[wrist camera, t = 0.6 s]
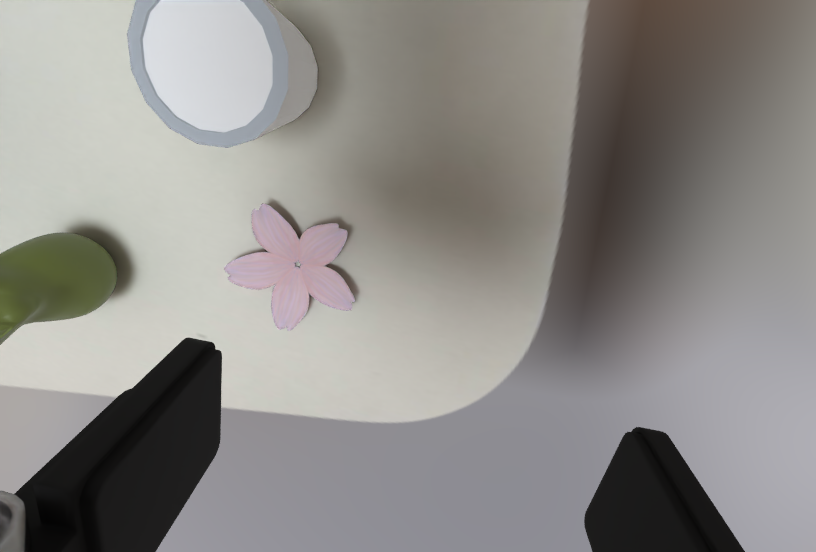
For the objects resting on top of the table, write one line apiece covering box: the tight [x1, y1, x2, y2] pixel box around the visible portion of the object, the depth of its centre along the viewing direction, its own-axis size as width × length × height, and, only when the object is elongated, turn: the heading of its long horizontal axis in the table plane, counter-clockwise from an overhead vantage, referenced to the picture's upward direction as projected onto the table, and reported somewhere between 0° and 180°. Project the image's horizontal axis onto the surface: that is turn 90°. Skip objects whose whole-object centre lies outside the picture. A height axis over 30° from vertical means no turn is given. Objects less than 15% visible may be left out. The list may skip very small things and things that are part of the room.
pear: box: [0, 233, 117, 345], centre depth 25 cm, size 6×5×10 cm
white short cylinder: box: [127, 0, 318, 148], centre depth 21 cm, size 7×7×7 cm
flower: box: [224, 203, 355, 331], centre depth 28 cm, size 10×10×2 cm
